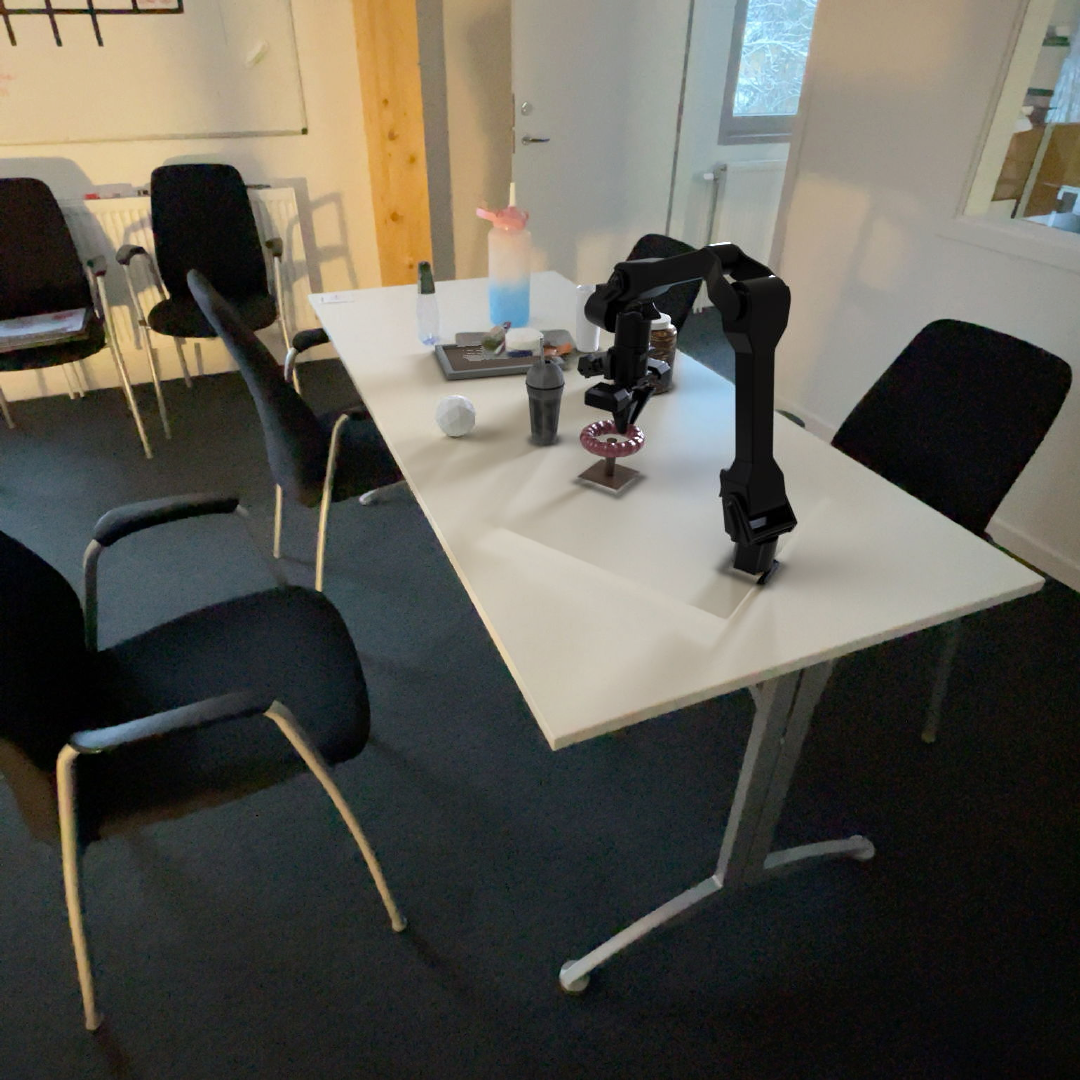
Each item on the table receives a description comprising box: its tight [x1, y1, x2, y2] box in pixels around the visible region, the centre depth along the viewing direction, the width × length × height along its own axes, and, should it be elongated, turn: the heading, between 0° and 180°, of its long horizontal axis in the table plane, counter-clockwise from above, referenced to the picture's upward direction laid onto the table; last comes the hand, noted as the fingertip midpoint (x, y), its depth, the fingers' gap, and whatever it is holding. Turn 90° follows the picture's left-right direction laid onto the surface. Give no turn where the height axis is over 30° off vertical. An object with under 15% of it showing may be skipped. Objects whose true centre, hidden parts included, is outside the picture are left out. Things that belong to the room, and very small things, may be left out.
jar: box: [647, 312, 678, 395], centre depth 161 cm, size 12×12×15 cm
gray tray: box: [434, 341, 566, 381], centre depth 176 cm, size 19×2×30 cm
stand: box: [577, 437, 641, 491], centre depth 127 cm, size 8×8×8 cm
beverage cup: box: [524, 338, 566, 446], centre depth 136 cm, size 7×7×20 cm
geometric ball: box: [434, 394, 477, 438], centre depth 141 cm, size 8×8×8 cm
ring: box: [578, 419, 646, 459], centre depth 125 cm, size 11×11×2 cm
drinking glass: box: [574, 283, 601, 354], centre depth 179 cm, size 7×7×15 cm
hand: (624, 430), depth 128 cm, fingers closed on ring, 2 cm apart
